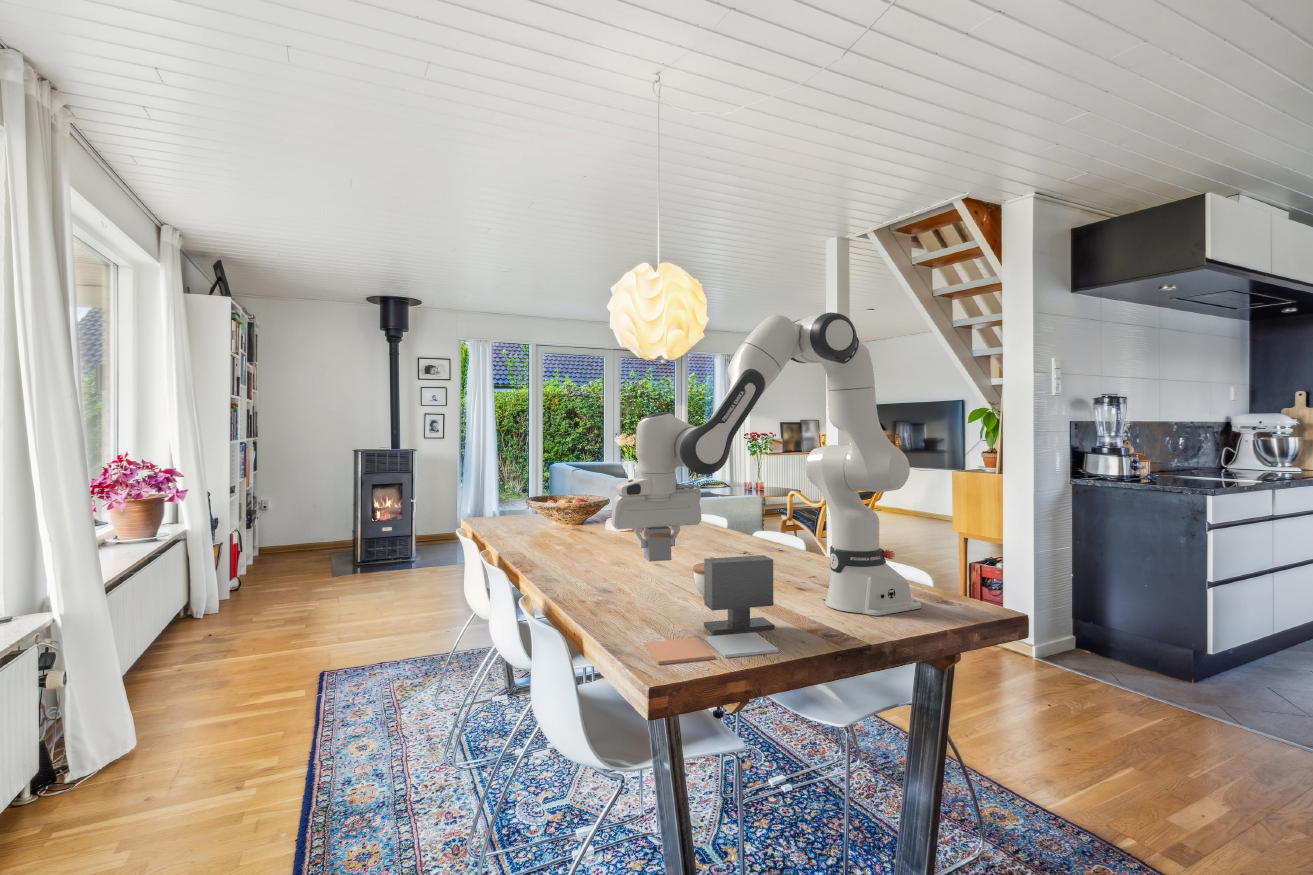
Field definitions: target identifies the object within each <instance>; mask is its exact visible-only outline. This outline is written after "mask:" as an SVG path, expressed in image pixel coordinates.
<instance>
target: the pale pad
mask: <svg viewBox="0 0 1313 875" xmlns="http://www.w3.org/2000/svg"><path fill="white" fill-rule="evenodd" d="M705 641H706V642H707V643H709V645H710V646H712V647H713V649H715V650H716V651H717V652H718V653H719V654H720V655H721V656H722V657H723V658H724V659H728V658H738V657H745V656H757V655H766V654H774V653H775V654H778V653H779V648H777V647H776V646H775V645H773V644H771V643H770V642H769V641H768V640H766V639H765V638H764V637H762V636H761V635H760V634H758V633H757V631H753V632H742V633H731V634H720V635H712V636H710V635H709V636H705Z"/></svg>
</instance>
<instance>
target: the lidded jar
mask: <svg viewBox="0 0 1313 875" xmlns="http://www.w3.org/2000/svg"><path fill="white" fill-rule="evenodd" d="M692 570H693V582H694V586H695V588H696V591H697V592H698V593H699V594H700V595H701V597H702V598H704V562H699V563H695V564H694V565H693V566H692Z"/></svg>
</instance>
